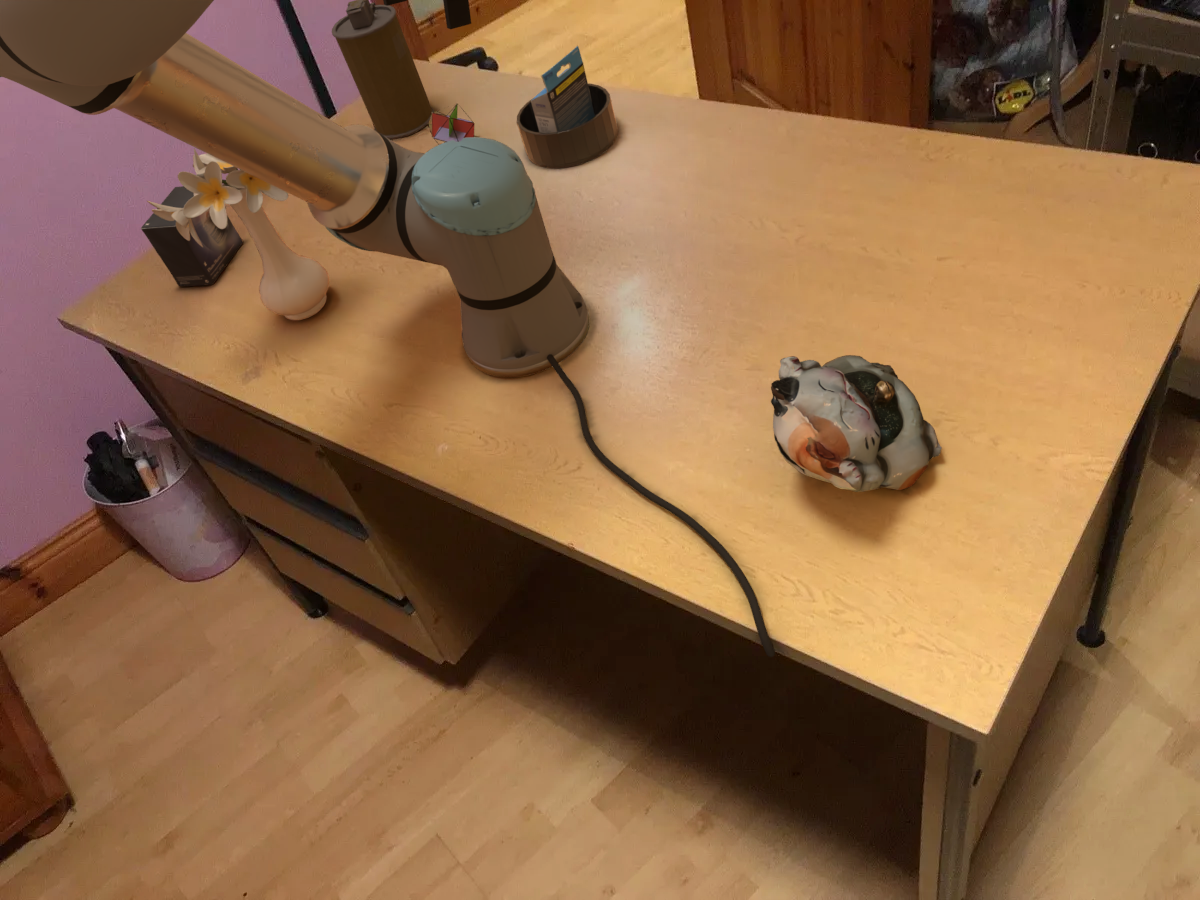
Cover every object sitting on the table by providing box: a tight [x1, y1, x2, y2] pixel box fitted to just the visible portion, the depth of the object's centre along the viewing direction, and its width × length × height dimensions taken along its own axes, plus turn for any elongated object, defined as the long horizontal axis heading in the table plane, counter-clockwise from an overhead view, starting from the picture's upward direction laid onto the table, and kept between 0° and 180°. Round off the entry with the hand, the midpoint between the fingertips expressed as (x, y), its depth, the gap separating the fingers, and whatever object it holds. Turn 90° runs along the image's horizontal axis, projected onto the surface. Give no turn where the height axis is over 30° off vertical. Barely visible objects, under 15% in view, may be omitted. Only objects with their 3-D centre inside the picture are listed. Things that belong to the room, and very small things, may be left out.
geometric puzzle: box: [428, 102, 476, 144], centre depth 146 cm, size 7×7×8 cm
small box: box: [140, 185, 244, 288], centre depth 137 cm, size 11×6×10 cm, turn 168°
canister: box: [331, 0, 435, 140], centre depth 151 cm, size 11×10×20 cm
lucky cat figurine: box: [770, 354, 943, 493], centre depth 84 cm, size 15×12×14 cm
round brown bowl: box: [516, 82, 619, 169], centre depth 139 cm, size 14×14×6 cm
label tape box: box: [530, 45, 595, 133], centre depth 136 cm, size 9×4×12 cm, turn 144°
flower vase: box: [146, 147, 330, 321], centre depth 118 cm, size 13×18×25 cm
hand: (426, 14), depth 108 cm, fingers open, 13 cm apart
